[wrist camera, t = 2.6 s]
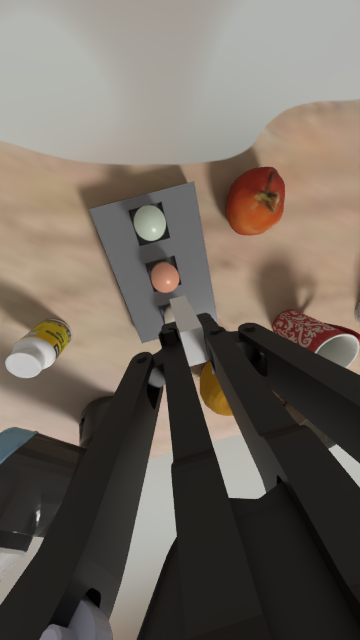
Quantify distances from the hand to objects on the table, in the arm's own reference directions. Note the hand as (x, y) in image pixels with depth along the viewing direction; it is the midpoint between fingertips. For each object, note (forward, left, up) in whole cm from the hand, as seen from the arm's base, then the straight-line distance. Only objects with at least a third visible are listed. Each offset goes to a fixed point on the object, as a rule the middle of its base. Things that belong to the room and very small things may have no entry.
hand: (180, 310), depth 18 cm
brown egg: (0, 0, -17) cm, 17 cm away
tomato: (+17, +7, -21) cm, 28 cm away
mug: (+27, -20, -21) cm, 39 cm away
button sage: (0, +8, -17) cm, 19 cm away
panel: (0, 0, -20) cm, 20 cm away
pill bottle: (-24, -6, -21) cm, 32 cm away
